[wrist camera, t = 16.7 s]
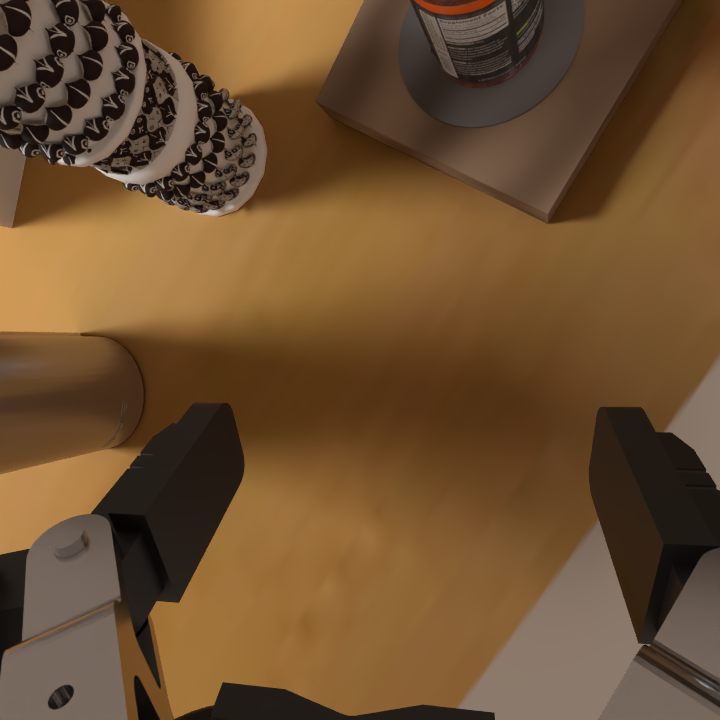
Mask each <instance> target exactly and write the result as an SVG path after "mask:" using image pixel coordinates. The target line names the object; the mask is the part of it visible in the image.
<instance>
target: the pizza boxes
mask: <svg viewBox="0 0 720 720" xmlns="http://www.w3.org/2000/svg"><path fill="white" fill-rule="evenodd" d="M25 161H26V156H24V155H23V154H22V153H21V152H20V151H19V150H18V149H14V150H10V149H6V148H4V147H2V146H1V145H0V226H4V227H8V228H12V226H13V221H14V216H15V211H16V206H17V201H18V196H19V191H20V186H21V181H22V176H23V171H24V166H25Z"/></svg>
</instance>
